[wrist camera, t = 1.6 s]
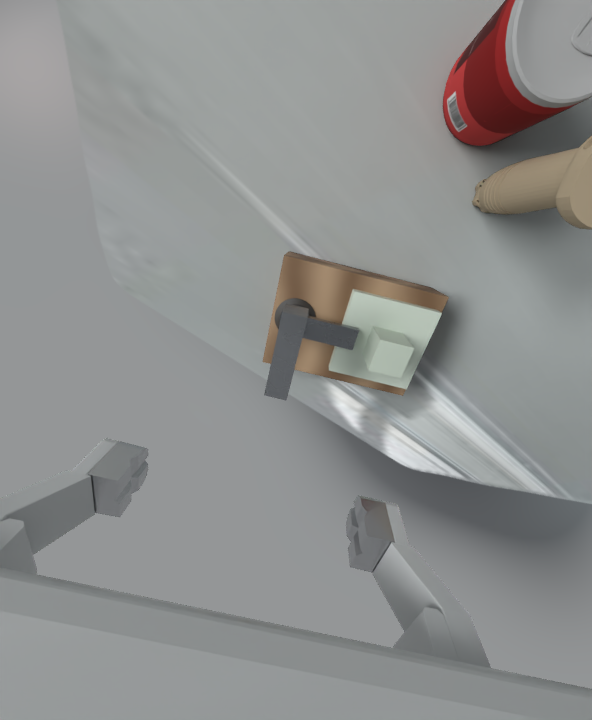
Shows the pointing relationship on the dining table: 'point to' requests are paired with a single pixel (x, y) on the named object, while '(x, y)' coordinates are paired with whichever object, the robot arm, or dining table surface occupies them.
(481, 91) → the canned food
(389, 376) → the lid
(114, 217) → the dining table surface
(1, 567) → the robot arm
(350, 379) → the case
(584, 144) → the handle
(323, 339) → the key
